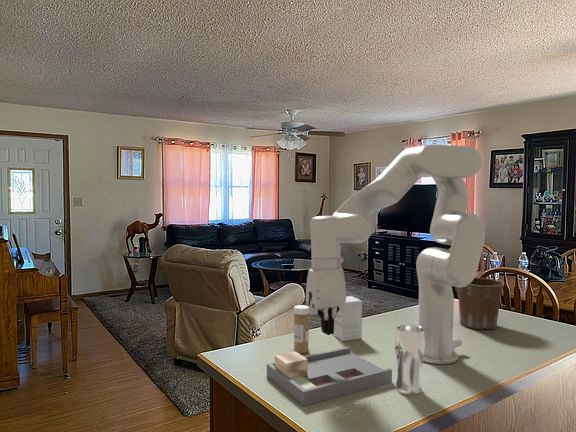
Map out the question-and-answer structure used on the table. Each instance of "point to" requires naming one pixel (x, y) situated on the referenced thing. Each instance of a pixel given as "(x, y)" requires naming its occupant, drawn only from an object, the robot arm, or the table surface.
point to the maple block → (291, 364)
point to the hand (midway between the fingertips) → (327, 333)
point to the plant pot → (480, 303)
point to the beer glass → (409, 358)
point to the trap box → (330, 376)
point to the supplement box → (349, 320)
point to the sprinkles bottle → (301, 328)
